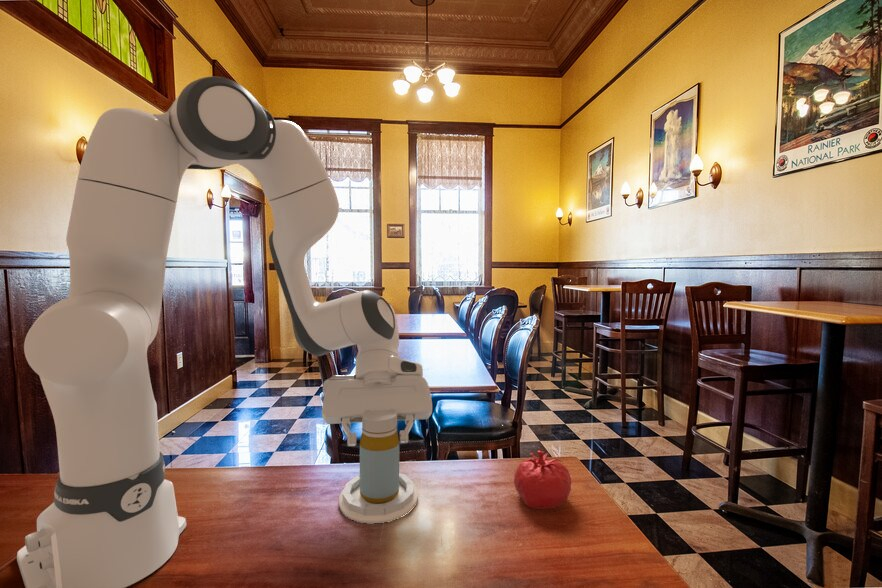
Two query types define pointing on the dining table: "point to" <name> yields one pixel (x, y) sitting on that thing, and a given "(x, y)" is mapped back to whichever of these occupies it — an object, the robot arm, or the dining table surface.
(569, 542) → the dining table surface
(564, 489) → the pomegranate
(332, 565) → the dining table surface
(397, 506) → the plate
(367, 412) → the bottle
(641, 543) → the dining table surface
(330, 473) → the dining table surface
